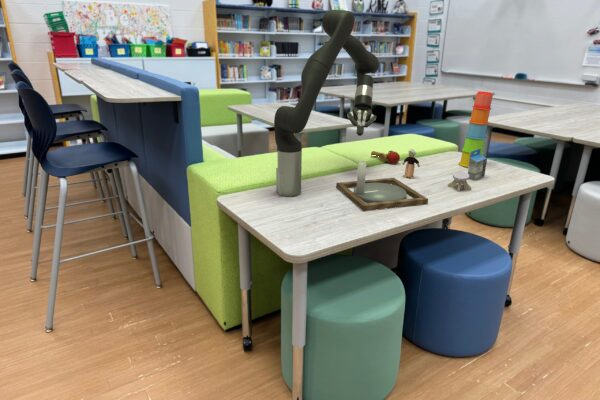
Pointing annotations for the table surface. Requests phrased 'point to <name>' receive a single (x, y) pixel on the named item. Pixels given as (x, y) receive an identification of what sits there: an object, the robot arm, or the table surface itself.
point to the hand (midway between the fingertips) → (359, 135)
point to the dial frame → (416, 200)
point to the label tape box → (476, 165)
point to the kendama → (387, 156)
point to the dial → (376, 189)
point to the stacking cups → (477, 126)
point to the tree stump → (460, 180)
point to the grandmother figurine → (410, 164)
